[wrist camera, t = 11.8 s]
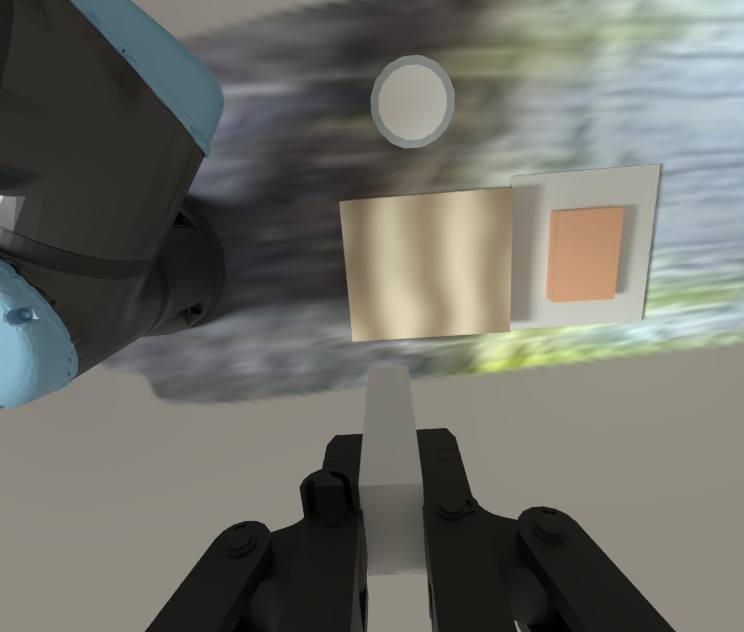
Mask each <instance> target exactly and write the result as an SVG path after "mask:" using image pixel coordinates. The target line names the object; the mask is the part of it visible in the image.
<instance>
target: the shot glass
mask: <svg viewBox="0 0 744 632" xmlns="http://www.w3.org/2000/svg"><path fill="white" fill-rule="evenodd" d="M370 98H371V115H372V118H373V120H374V122H375V124H376V127H377V129H378V131H379V132H380V133H381V134H382V135H383V136H384V137H385V138H386V139H387V140H388V141H389V142H390V143H392V144H393V145H396V146H399V147H402V148H421V147H424V146H426V145H428V144H430V143H431V142H433V141H435V140H437V139H438V138H439V137H440V136H441V134H442V133H443V132H444V131H445V130H446V129H447V127H448V126H449V123H450V121H451V118H452V115H453V112H454V110H455V90H454V88H453V85H452V83H451V80H450V78H449V75H448V73H447V72H446V71H445V70H444V69H443V68H442V67H441V66H440V65H439V64H438V63H437V62H436V61H434V60H432V59H429V58H427V57H424V56H421V55H412V56H402V57H400V58H399V59H397V60H395V61H393V62H391V63H390V64H388V65H387V66H386V67H385V68H384V70H383V71H382V72H381V73H380V75H379V76H378V77H377V79H376V81H375V84H374V87H373V90H372V94H371V97H370Z"/></svg>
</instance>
